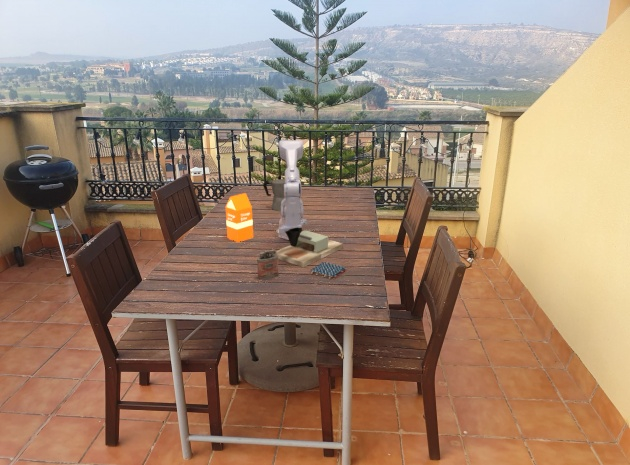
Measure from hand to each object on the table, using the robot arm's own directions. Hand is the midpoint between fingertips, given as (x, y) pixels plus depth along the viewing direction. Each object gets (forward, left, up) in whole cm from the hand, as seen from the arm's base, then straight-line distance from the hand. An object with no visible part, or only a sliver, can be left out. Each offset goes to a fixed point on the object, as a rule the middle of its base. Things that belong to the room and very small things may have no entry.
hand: (293, 245), depth 182 cm
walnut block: (0, +10, -6) cm, 12 cm away
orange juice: (-35, +3, -6) cm, 36 cm away
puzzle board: (0, +9, -6) cm, 11 cm away
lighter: (+3, -18, -6) cm, 19 cm away
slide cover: (0, +10, -4) cm, 11 cm away
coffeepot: (-53, +47, -6) cm, 71 cm away
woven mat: (+18, -1, -7) cm, 19 cm away
